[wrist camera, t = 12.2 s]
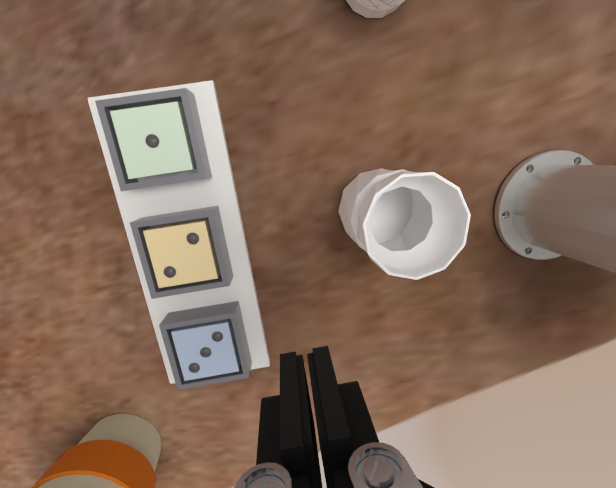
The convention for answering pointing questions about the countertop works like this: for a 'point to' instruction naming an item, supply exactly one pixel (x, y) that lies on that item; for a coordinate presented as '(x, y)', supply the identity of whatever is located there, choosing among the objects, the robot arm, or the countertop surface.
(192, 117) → the button panel
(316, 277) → the countertop surface
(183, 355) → the button
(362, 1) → the white cup
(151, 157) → the button
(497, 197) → the robot arm
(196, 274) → the button
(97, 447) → the reusable coffee cup
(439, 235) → the vase
